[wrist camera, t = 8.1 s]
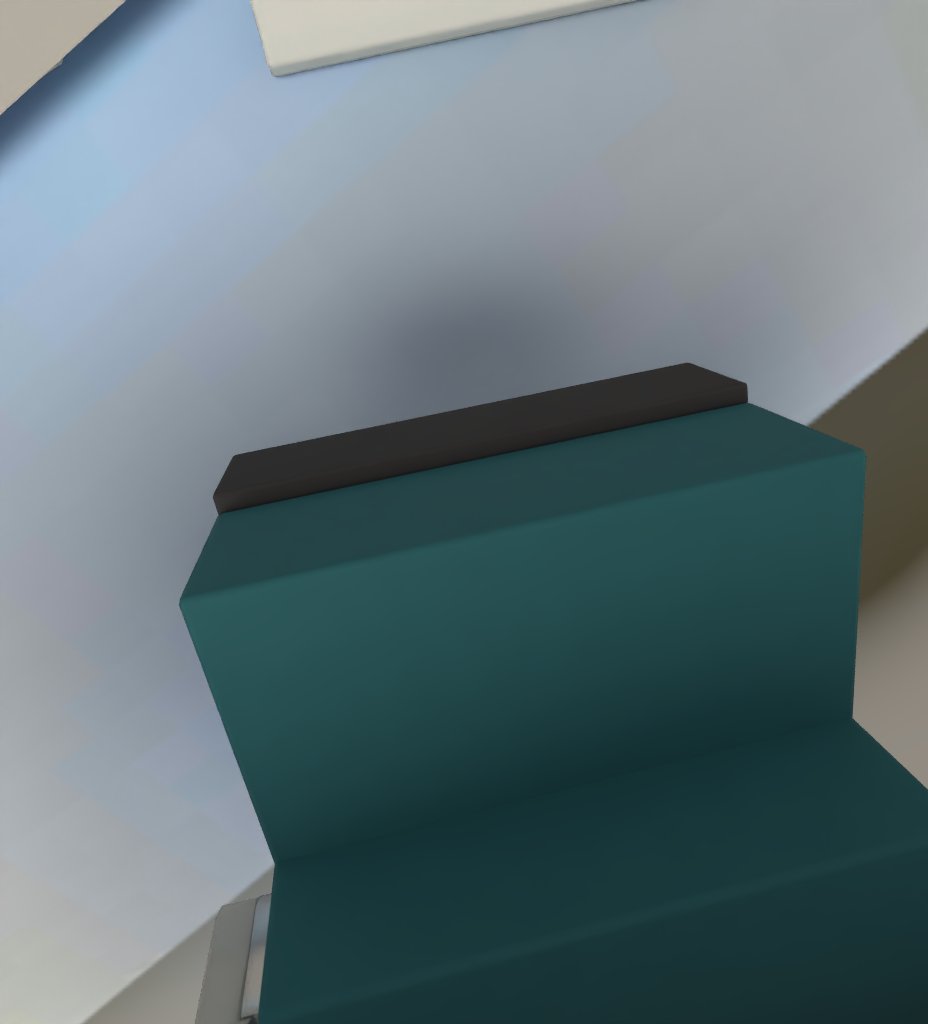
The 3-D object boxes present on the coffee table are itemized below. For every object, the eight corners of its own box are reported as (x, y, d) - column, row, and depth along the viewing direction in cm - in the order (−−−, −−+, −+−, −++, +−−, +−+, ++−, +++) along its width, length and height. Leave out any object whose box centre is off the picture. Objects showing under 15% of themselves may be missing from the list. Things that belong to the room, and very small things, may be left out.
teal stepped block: (717, 969, 14) (901, 1333, 9) (416, 1053, 13) (453, 1481, 9) (689, 361, 9) (1027, 483, 5) (231, 454, 9) (107, 692, 4)
